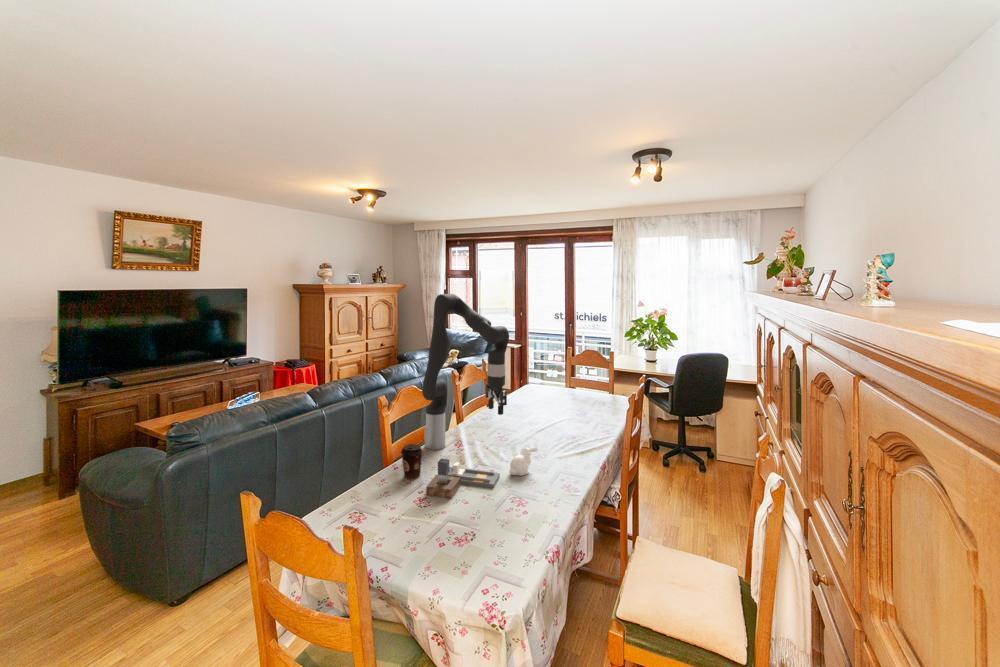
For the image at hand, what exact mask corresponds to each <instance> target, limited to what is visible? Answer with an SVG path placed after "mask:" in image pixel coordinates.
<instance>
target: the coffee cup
mask: <svg viewBox="0 0 1000 667" xmlns="http://www.w3.org/2000/svg"><path fill="white" fill-rule="evenodd" d="M423 453H424V452H423V449H422V447H421V445H418V444H411V443H410V444H406V445H404V446H403V447H402V450H400V454H402V457H401V459H402V469H403V472H404V474H403V475H404V479H406V480H411V481H412V480H417V479H418V478H420V477H421V468H422V466H421V465H422V456H423V455H422V454H423Z"/></svg>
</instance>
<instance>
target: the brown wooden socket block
mask: <svg viewBox="0 0 1000 667" xmlns="http://www.w3.org/2000/svg"><path fill="white" fill-rule="evenodd" d="M460 487H461V484H460V478H459V477H451V476H449V484H448V485H440V484H439V475H438V474H436V475H434V477H433V478H432V479H431V480H430V482H428V484H427V485H426V487H425V489H426V490H425V491H426V492H425V493H426V496H429V497H437V498H443V499H449V500H450V499H451V500H452V499H453V498H454V496H455V494H456V493H457V492H458V490H459V489H460Z"/></svg>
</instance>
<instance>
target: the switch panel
mask: <svg viewBox="0 0 1000 667" xmlns="http://www.w3.org/2000/svg"><path fill="white" fill-rule="evenodd" d="M460 469H466V472H465V473H464V474H463V475H456V474H452V473H453V466H452V467H451V466H449V476H451V477H459V478H460V485H468V486H476V487H483V488H489V489H494V488H495V486H496V485H497V482H498V481H499V479H500V476H501V474H500V472H495V471H491V470H482V469H475V468H466V467H460Z"/></svg>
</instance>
